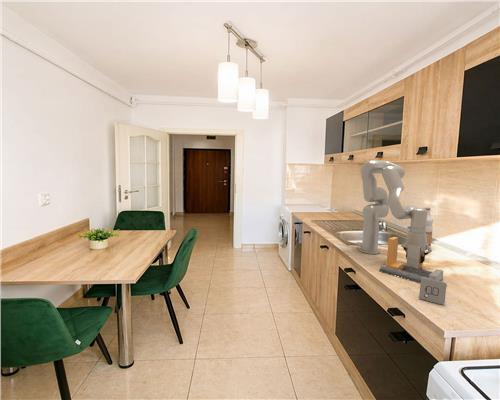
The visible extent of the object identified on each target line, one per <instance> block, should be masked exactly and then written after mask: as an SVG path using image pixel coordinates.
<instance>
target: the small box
mask: <svg viewBox="0 0 500 400" xmlns="http://www.w3.org/2000/svg"><path fill="white" fill-rule="evenodd" d="M421 256H422V254H421V247H418V246H414V245H408V252H407V258H406V264H405V265H408V266H412V267H416V268H420V269H422V267H423V264H424V262H423V263H420V260H421Z"/></svg>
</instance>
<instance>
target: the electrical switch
mask: <svg viewBox="0 0 500 400" xmlns="http://www.w3.org/2000/svg"><path fill="white" fill-rule="evenodd" d="M419 284H420V286H419V287H420V288H419V293H418V298H419V299H420V300H423V301H426V302H431V303H435V304H438V305H442V306H443V305H445V304H446V295H447V287H448V284H447V282H445V281H437V280H432V279H428V278H421V283H419Z"/></svg>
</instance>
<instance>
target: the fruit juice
mask: <svg viewBox="0 0 500 400" xmlns="http://www.w3.org/2000/svg"><path fill="white" fill-rule="evenodd" d="M422 208H424V209H426V210H427V222H426V232H425V233H426V234H427V245H428V246H429V248H430V249H431V247H432V240H433V239H432V237H433V223H434V219H433V217H432V215H431V210H432V209H431V208H430V207H422Z"/></svg>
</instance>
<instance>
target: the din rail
mask: <svg viewBox="0 0 500 400" xmlns="http://www.w3.org/2000/svg"><path fill="white" fill-rule="evenodd" d="M380 271H382V272H381V273H384V272H385V274H387V273H388V274H387V275H390V274H392V275H391V276H394V275H396V276H395V277H397V276H399V277H398V278H401V277H402V278H401V279H404V278H405V280H407V279H409V280H408V281H411V280H412V281H411V282H414V281H415V282H414V283H418V282H419V283H418V284H421V278H428V279H432V280H437V281H441V282H443V280H444V270H442V269H438V268H436V269H435V270H433V271H430V270H427V269H422V268H416V267H412V266H408V265H406V264H404V268H403V269H402V270H398V269H394V268H391V267H387V266H386V265H383V264H381V265H380V268H379V272H380Z"/></svg>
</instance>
